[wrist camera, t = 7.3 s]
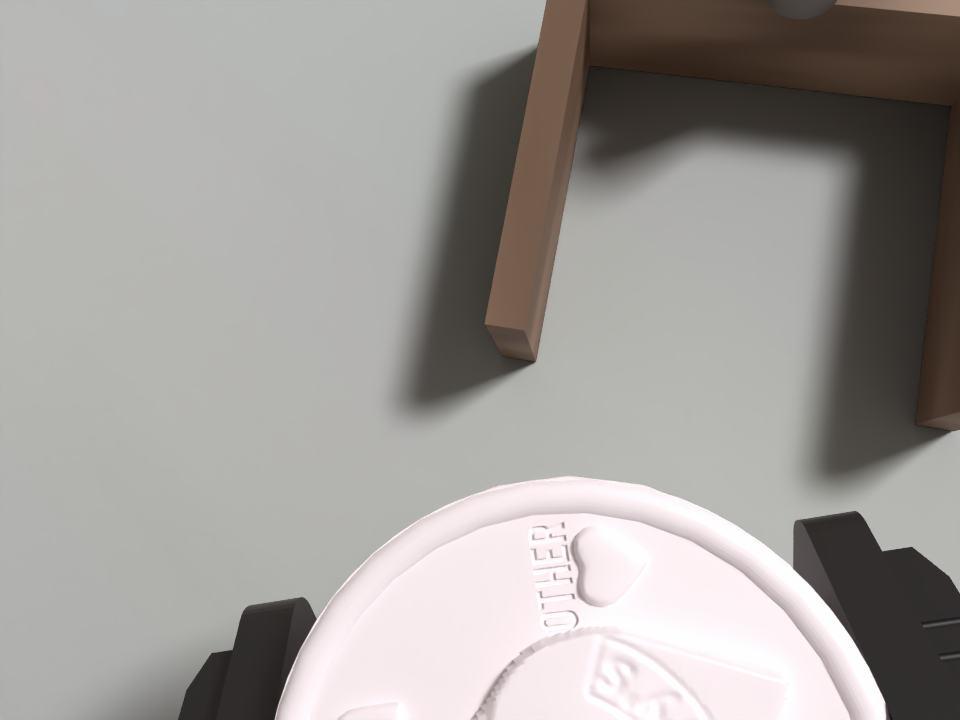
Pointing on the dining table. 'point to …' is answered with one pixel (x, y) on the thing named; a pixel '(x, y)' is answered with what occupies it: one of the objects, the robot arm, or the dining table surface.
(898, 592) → the robot arm
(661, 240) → the dining table surface
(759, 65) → the keeper
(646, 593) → the smoothie
